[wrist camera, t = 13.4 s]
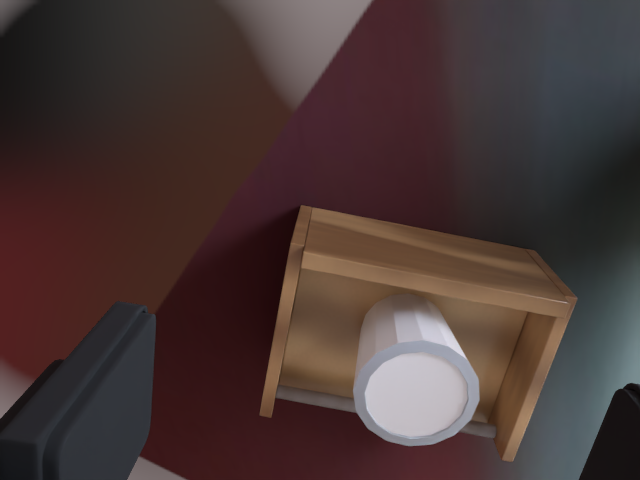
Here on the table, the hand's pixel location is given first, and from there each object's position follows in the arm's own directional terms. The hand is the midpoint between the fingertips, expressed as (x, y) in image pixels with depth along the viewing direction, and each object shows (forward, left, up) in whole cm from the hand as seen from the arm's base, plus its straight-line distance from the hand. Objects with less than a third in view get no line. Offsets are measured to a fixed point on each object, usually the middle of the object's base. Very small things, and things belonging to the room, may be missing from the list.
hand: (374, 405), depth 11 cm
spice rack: (-5, +11, -27) cm, 29 cm away
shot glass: (-5, +10, -23) cm, 26 cm away
